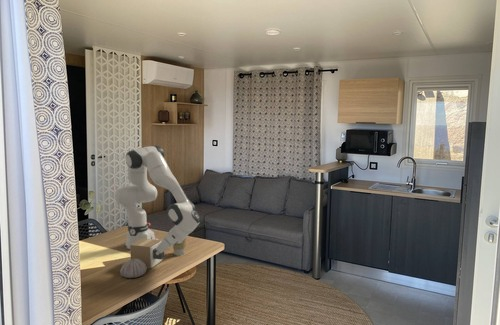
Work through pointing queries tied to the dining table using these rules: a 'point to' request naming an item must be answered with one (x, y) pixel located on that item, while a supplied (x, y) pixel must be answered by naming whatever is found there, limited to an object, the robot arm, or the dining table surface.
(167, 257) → the dining table surface
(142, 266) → the sea urchin shell
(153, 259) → the flap
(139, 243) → the carton
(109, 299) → the dining table surface
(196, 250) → the dining table surface
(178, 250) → the coffee cup
